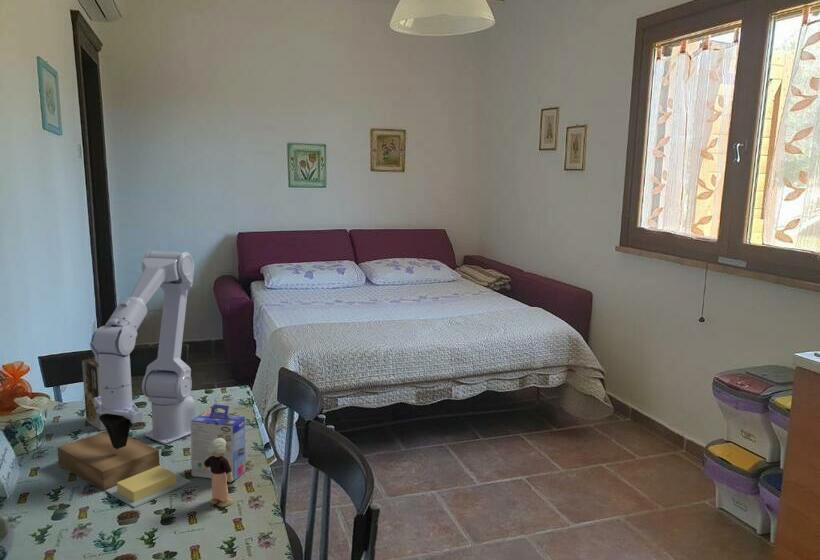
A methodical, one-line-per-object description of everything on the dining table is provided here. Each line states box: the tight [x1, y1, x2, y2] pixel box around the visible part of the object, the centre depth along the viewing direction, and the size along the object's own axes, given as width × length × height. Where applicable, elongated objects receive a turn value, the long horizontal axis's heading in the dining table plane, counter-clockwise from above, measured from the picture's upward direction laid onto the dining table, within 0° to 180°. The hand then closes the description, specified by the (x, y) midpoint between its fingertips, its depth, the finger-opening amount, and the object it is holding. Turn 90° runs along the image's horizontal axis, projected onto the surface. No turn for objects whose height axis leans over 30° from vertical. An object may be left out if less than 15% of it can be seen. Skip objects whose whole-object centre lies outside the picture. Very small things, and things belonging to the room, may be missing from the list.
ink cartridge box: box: [190, 403, 247, 482], centre depth 124 cm, size 10×6×14 cm, turn 78°
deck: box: [56, 430, 161, 492], centre depth 127 cm, size 12×18×4 cm, turn 56°
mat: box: [105, 474, 191, 509], centre depth 119 cm, size 12×10×1 cm
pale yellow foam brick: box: [117, 465, 178, 502], centre depth 118 cm, size 9×6×2 cm, turn 145°
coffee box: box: [81, 357, 106, 431], centre depth 148 cm, size 9×6×16 cm
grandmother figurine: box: [203, 438, 234, 508], centre depth 113 cm, size 8×4×13 cm, turn 71°
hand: (119, 446), depth 124 cm, fingers closed
